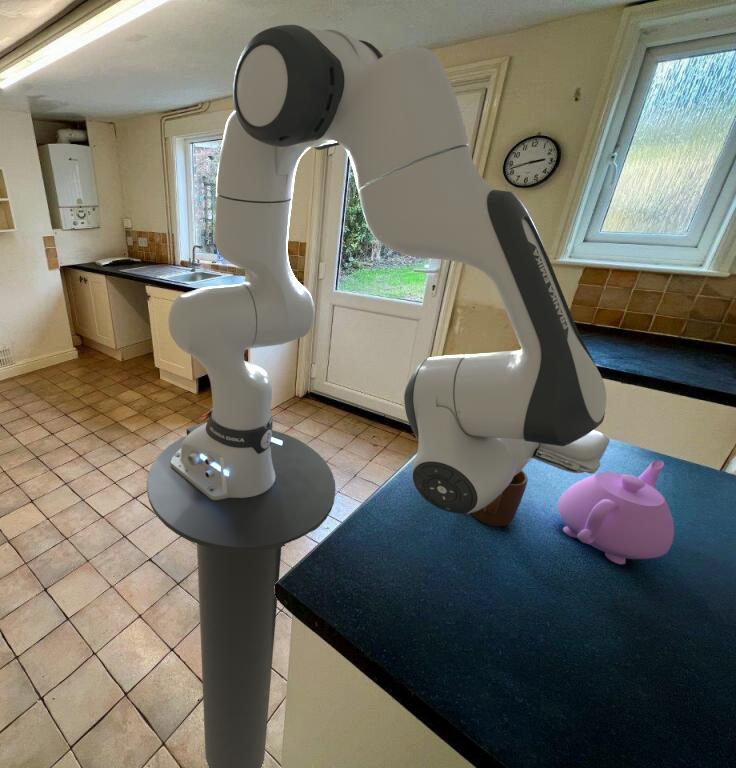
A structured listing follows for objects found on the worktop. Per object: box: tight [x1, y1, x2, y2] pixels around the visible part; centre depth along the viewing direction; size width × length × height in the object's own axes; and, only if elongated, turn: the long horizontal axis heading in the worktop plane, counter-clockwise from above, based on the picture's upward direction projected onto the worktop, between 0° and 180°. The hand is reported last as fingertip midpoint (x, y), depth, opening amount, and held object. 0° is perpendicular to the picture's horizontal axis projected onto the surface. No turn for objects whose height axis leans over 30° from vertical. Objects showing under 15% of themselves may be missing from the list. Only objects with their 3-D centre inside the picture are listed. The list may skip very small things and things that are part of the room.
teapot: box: [557, 459, 675, 565], centre depth 68 cm, size 20×14×12 cm
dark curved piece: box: [469, 470, 529, 527], centre depth 72 cm, size 12×8×9 cm, turn 142°
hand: (530, 407), depth 63 cm, fingers closed on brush, 2 cm apart
